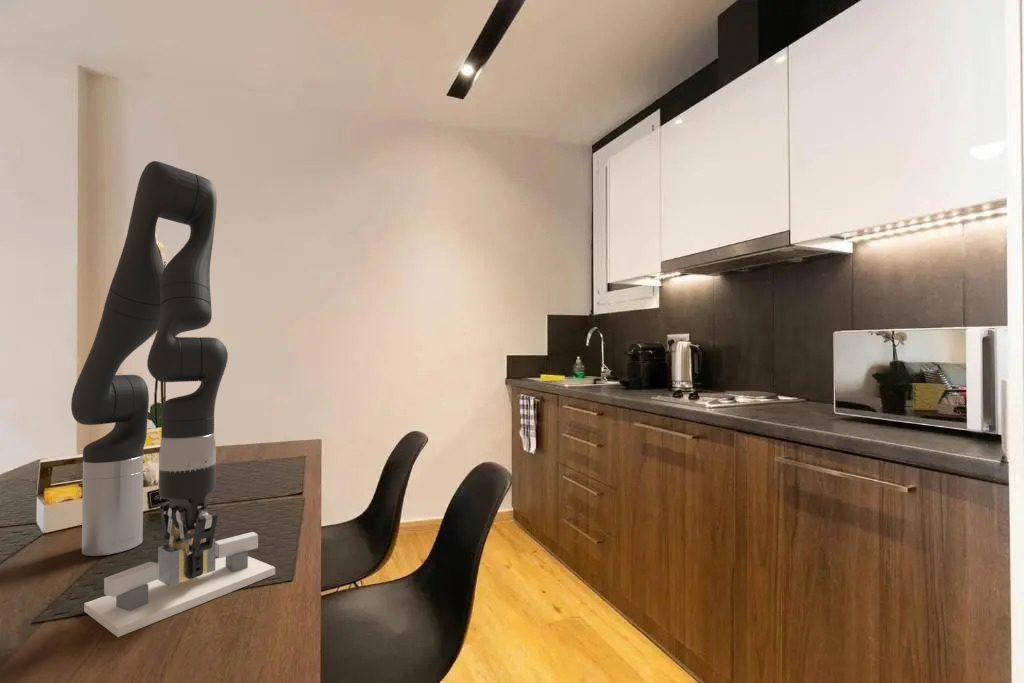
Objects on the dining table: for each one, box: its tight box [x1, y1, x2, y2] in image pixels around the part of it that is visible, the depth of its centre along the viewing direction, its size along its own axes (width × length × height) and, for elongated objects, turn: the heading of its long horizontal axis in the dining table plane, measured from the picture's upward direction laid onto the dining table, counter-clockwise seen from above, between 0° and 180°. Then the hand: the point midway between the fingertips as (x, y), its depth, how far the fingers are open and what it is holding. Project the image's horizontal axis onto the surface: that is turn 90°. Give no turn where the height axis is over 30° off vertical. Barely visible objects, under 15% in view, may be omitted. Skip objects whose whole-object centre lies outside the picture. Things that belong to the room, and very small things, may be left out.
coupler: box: [157, 538, 217, 586], centre depth 78 cm, size 4×6×5 cm, turn 147°
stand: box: [83, 531, 276, 638], centre depth 78 cm, size 12×22×6 cm, turn 147°
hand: (187, 572), depth 78 cm, fingers closed on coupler, 4 cm apart
